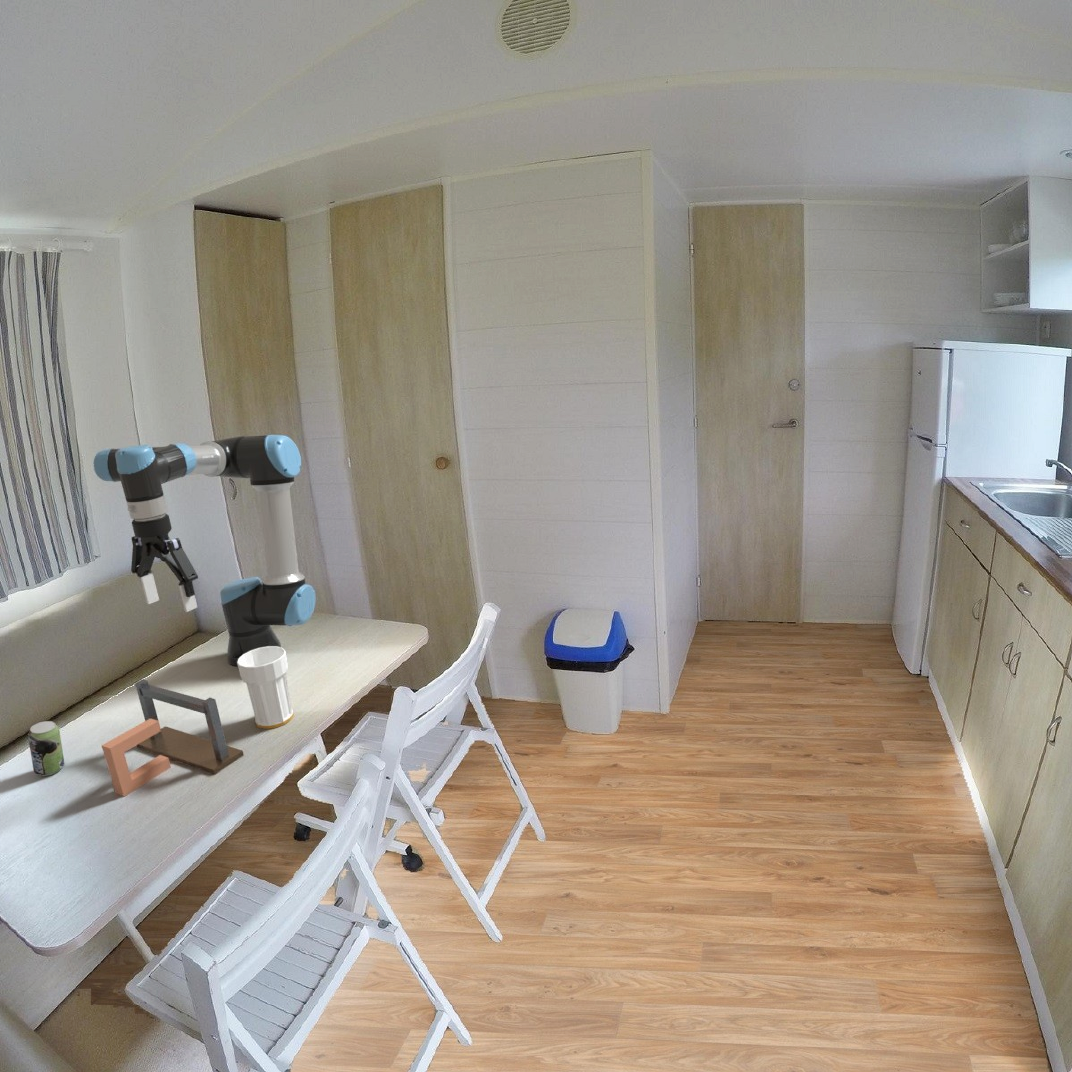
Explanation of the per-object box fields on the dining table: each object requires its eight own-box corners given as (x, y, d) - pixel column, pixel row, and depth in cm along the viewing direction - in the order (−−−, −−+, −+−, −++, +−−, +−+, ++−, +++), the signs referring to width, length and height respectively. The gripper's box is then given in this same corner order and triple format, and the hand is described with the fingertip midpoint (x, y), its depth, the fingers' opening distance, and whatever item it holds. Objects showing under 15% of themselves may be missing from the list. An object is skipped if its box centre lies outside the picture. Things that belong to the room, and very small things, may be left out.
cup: (241, 728, 189) (226, 664, 184) (271, 704, 199) (258, 643, 193) (278, 734, 185) (264, 669, 179) (307, 710, 195) (295, 648, 189)
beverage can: (43, 765, 180) (29, 720, 177) (76, 761, 181) (62, 716, 177) (29, 781, 174) (14, 735, 171) (62, 776, 175) (48, 731, 171)
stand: (137, 747, 184) (120, 688, 179) (166, 730, 191) (151, 672, 186) (215, 774, 171) (199, 711, 166) (243, 755, 177) (229, 693, 172)
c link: (115, 793, 167) (101, 745, 163) (162, 764, 176) (150, 718, 173) (124, 796, 166) (109, 748, 162) (170, 767, 175) (158, 721, 171)
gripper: (99, 517, 172) (123, 605, 178) (171, 525, 160) (193, 619, 166) (130, 508, 178) (152, 593, 184) (201, 515, 166) (222, 606, 172)
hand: (171, 605), depth 175 cm, fingers open, 13 cm apart
